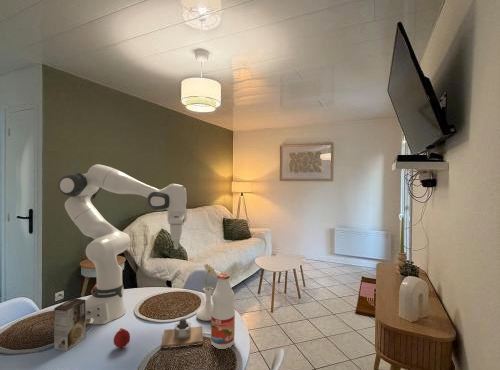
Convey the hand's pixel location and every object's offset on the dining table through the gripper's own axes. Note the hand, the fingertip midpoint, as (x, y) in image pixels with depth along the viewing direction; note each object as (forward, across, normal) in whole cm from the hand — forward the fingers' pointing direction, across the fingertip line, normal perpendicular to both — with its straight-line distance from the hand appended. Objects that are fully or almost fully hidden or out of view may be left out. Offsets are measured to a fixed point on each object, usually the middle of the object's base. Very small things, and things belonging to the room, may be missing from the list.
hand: (176, 246), depth 128 cm
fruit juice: (+34, +25, +20) cm, 47 cm away
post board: (+34, +19, +4) cm, 39 cm away
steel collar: (+33, +19, +4) cm, 38 cm away
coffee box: (+34, +14, -40) cm, 55 cm away
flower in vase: (+34, +2, +15) cm, 38 cm away
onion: (+34, +21, -19) cm, 44 cm away
